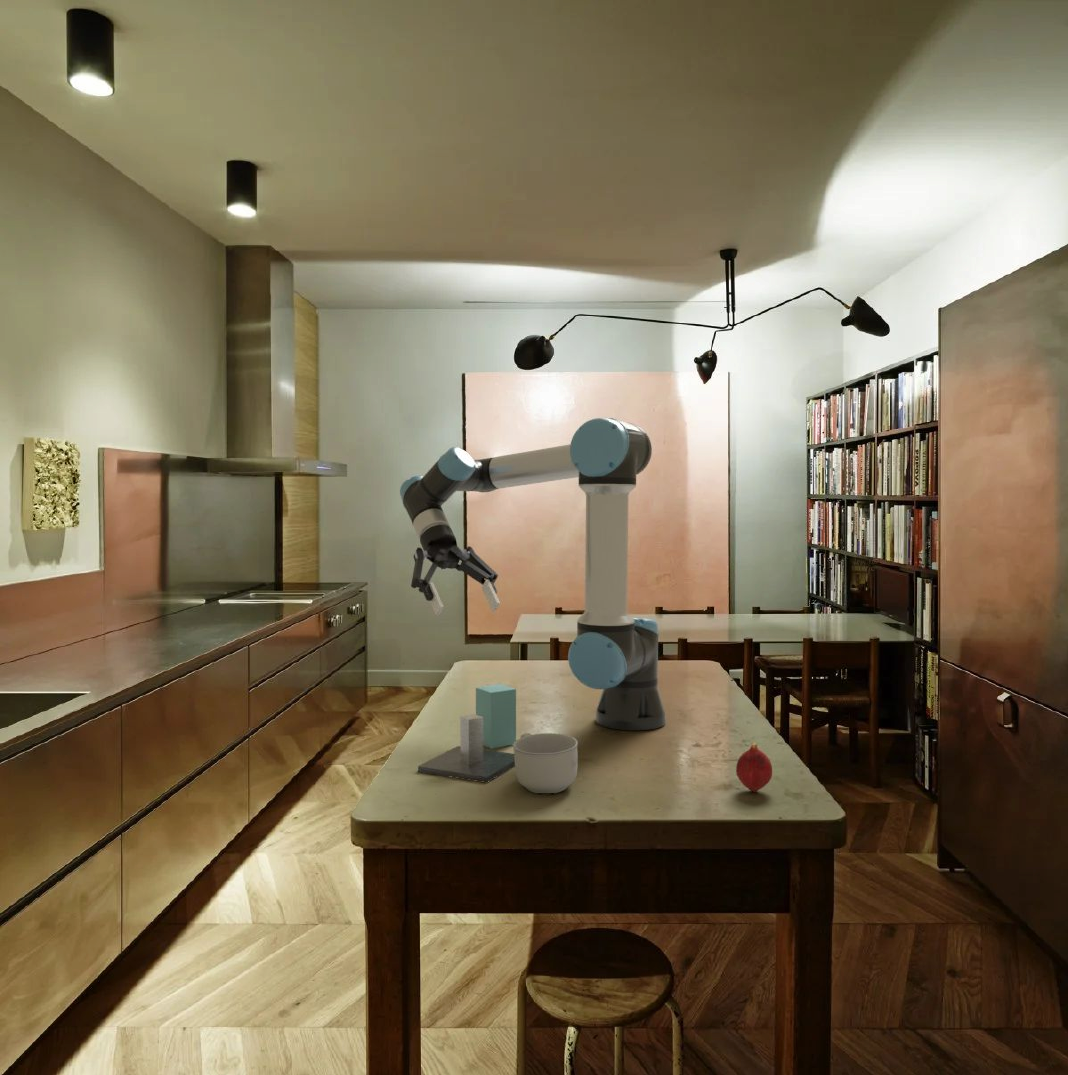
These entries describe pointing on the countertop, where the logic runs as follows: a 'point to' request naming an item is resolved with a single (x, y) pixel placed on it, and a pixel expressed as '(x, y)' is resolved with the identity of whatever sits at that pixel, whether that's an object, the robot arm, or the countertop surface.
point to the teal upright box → (497, 714)
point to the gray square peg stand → (470, 756)
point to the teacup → (546, 761)
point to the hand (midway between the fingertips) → (468, 609)
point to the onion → (754, 769)
